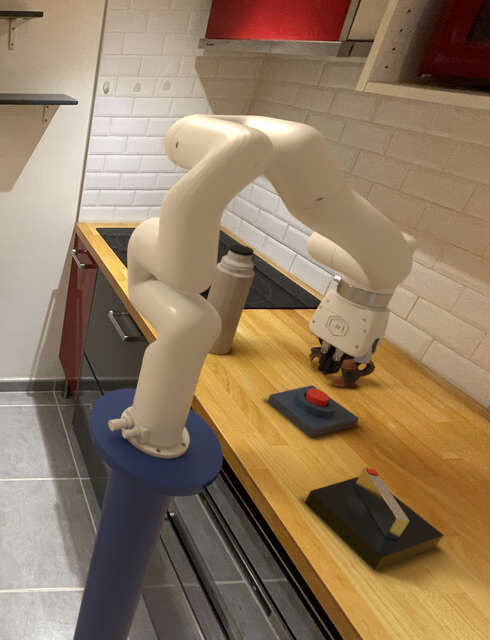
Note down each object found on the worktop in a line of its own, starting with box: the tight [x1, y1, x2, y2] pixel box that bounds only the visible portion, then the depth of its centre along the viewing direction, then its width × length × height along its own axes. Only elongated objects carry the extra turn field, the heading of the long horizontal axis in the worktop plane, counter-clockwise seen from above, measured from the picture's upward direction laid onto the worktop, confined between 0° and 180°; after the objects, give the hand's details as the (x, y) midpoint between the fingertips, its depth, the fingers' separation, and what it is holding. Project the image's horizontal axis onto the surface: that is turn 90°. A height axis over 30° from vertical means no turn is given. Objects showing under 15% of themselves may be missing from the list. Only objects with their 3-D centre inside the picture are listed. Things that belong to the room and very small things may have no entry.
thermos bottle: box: [206, 244, 255, 355], centre depth 111 cm, size 8×8×28 cm
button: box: [305, 388, 330, 407], centre depth 93 cm, size 4×4×2 cm
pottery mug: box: [308, 346, 376, 388], centre depth 105 cm, size 12×10×8 cm
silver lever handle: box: [354, 467, 409, 540], centre depth 71 cm, size 9×2×5 cm, turn 165°
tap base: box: [304, 476, 445, 571], centre depth 72 cm, size 13×11×3 cm
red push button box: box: [267, 384, 360, 438], centre depth 94 cm, size 12×10×4 cm
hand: (326, 371), depth 90 cm, fingers closed
